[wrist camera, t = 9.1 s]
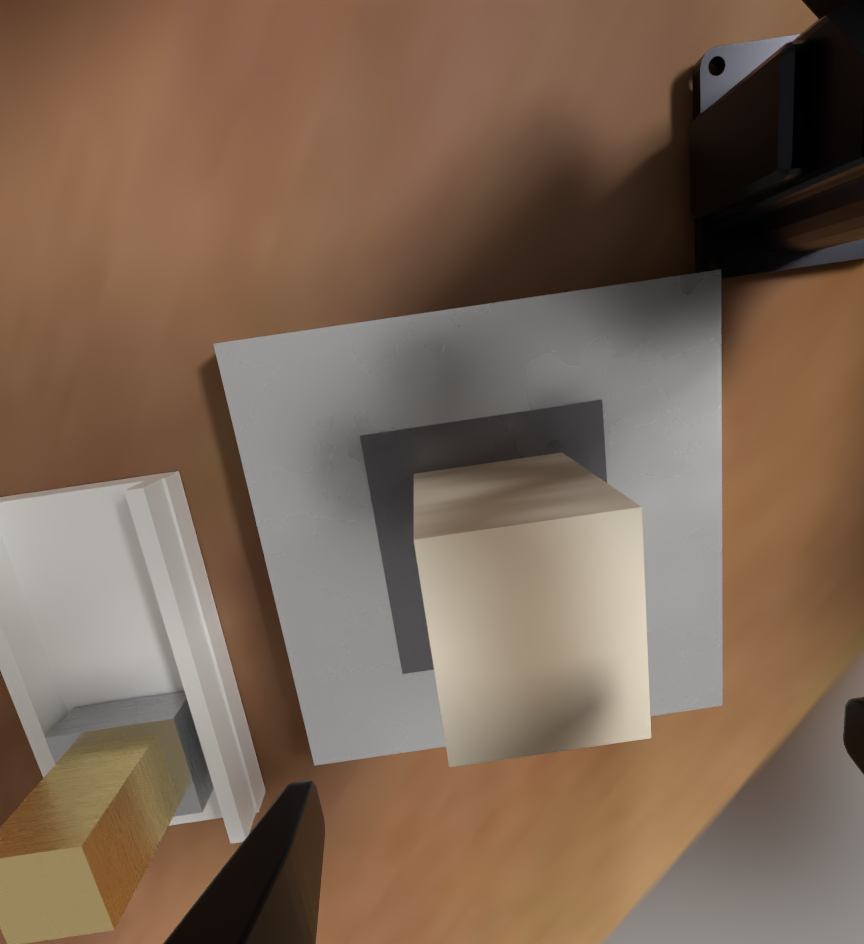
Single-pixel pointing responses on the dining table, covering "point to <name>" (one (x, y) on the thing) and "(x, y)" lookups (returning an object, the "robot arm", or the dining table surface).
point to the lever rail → (120, 623)
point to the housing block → (532, 607)
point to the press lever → (98, 816)
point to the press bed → (465, 444)
